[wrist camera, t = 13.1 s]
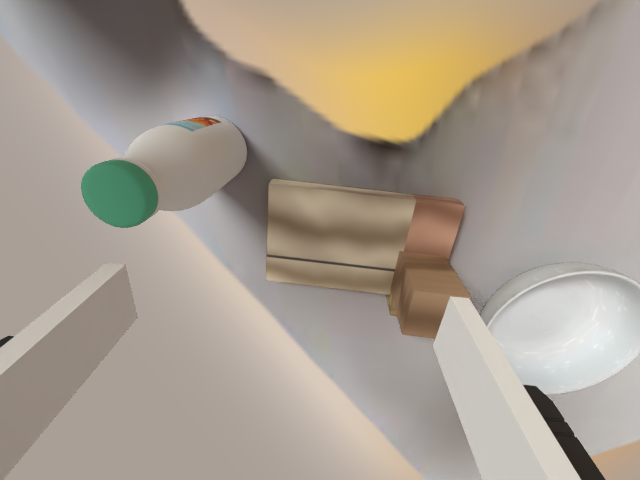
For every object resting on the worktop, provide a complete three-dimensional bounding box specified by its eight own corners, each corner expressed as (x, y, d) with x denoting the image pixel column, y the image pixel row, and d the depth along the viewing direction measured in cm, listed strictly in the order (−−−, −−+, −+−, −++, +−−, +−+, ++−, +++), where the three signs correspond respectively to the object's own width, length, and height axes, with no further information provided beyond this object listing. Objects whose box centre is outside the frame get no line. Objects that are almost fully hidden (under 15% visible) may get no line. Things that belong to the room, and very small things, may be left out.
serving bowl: (546, 374, 52) (574, 412, 46) (436, 332, 50) (450, 367, 43) (649, 278, 43) (701, 309, 37) (521, 221, 41) (554, 245, 35)
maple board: (272, 178, 40) (268, 183, 38) (458, 199, 40) (465, 206, 38) (269, 271, 46) (265, 280, 44) (430, 289, 46) (435, 300, 44)
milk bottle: (254, 126, 37) (174, 160, 19) (242, 186, 41) (165, 262, 23) (190, 106, 37) (48, 121, 19) (184, 168, 40) (58, 232, 22)
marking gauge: (397, 244, 42) (414, 290, 33) (441, 250, 42) (471, 297, 33) (385, 294, 46) (397, 348, 36) (426, 298, 46) (449, 355, 36)
